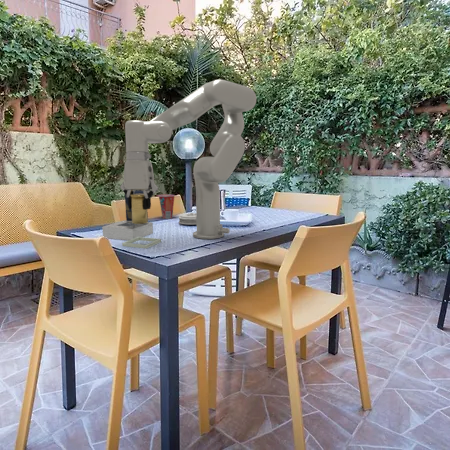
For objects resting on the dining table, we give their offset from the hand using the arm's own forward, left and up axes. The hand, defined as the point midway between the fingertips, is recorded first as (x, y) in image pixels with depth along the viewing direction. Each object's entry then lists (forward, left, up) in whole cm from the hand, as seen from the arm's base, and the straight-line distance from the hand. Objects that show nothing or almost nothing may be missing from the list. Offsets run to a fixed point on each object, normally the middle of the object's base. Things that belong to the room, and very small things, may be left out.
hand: (139, 208), depth 126 cm
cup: (+20, -53, -14) cm, 58 cm away
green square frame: (0, 0, -14) cm, 14 cm away
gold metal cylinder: (0, 0, -5) cm, 5 cm away
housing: (+13, -10, -14) cm, 21 cm away
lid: (+1, -44, -14) cm, 46 cm away
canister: (+19, -25, -14) cm, 34 cm away
